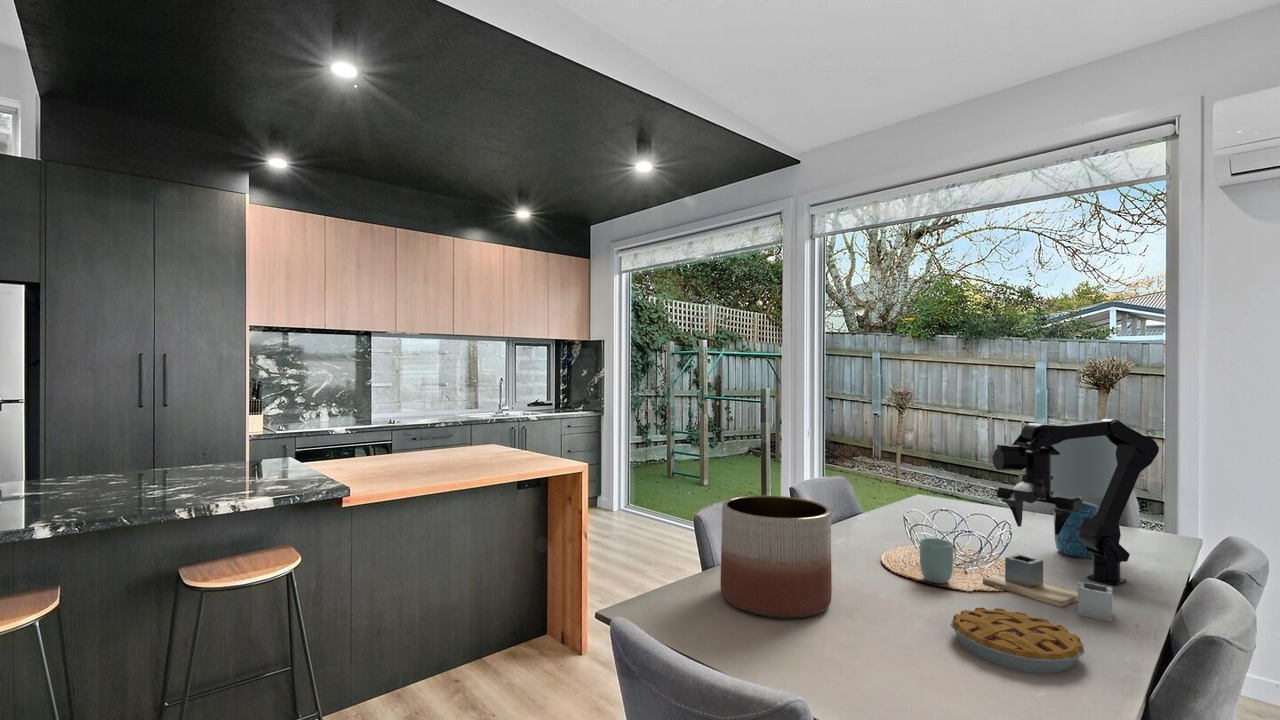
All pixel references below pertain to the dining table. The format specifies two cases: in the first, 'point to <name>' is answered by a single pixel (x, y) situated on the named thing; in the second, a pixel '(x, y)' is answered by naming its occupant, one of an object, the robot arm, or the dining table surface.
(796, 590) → the planter
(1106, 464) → the lamp
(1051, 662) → the pie
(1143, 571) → the dining table surface
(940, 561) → the cup
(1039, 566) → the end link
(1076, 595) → the board
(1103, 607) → the grey open cube box
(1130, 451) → the robot arm
